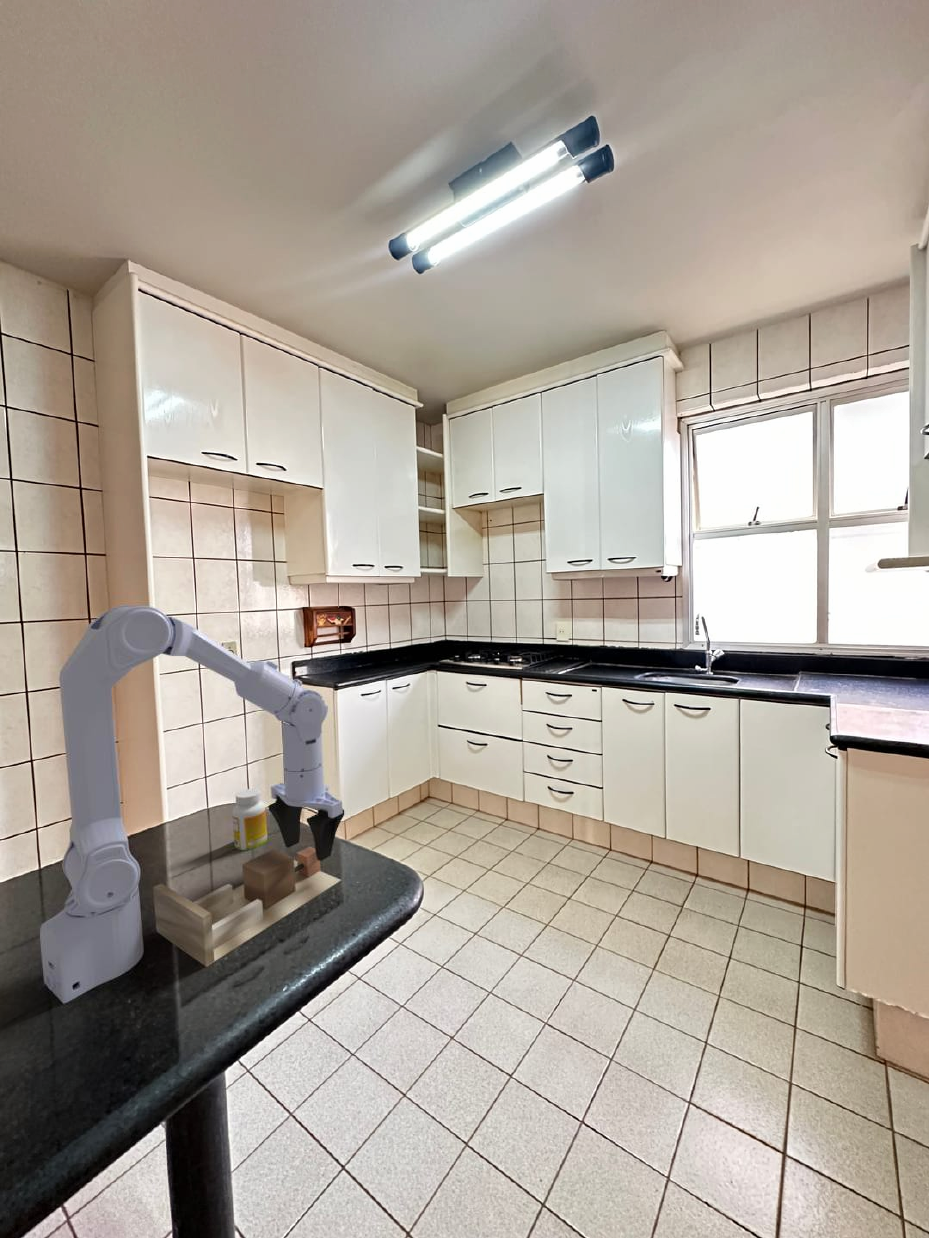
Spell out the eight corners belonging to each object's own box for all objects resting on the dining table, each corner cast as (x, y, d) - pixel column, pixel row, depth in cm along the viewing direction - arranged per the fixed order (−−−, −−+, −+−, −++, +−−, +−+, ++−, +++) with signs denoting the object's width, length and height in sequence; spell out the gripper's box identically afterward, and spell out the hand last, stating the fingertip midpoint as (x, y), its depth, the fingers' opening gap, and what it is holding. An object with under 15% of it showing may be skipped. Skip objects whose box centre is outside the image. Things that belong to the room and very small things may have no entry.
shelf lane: (206, 972, 62) (202, 917, 61) (157, 936, 69) (153, 887, 68) (341, 884, 79) (339, 841, 79) (291, 863, 86) (288, 823, 85)
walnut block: (265, 908, 72) (263, 874, 72) (244, 897, 75) (242, 864, 75) (326, 872, 81) (324, 841, 81) (305, 863, 84) (303, 833, 84)
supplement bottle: (273, 839, 94) (269, 786, 94) (258, 854, 89) (254, 799, 88) (244, 838, 95) (241, 786, 94) (228, 854, 90) (224, 799, 89)
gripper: (355, 765, 80) (359, 851, 80) (295, 751, 88) (299, 829, 89) (319, 780, 74) (323, 873, 75) (257, 763, 82) (262, 847, 83)
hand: (308, 850), depth 81 cm, fingers open, 7 cm apart
